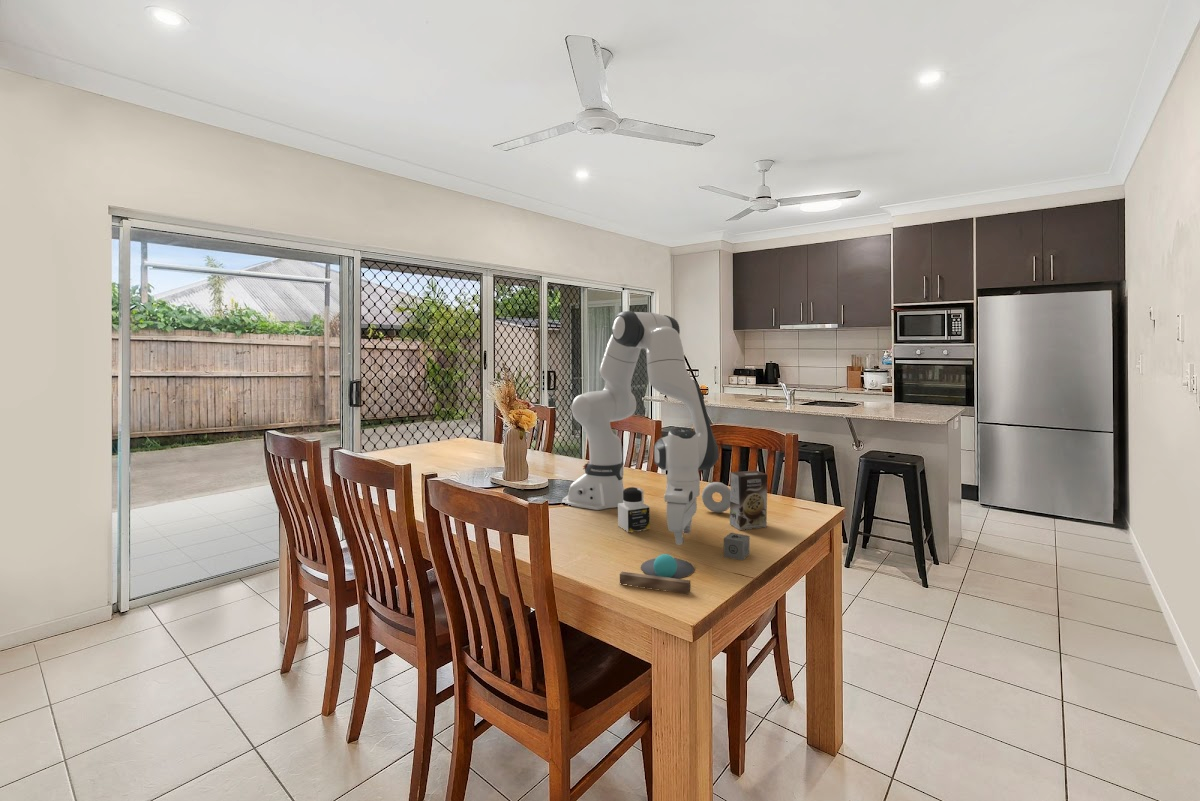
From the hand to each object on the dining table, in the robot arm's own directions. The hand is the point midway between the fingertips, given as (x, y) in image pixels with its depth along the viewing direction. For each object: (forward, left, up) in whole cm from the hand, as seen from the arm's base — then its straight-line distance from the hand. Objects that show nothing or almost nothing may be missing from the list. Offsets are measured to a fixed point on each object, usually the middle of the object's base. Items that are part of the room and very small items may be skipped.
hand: (683, 538), depth 159 cm
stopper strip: (0, -30, -2) cm, 30 cm away
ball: (+1, -24, +1) cm, 24 cm away
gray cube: (+15, -4, -2) cm, 15 cm away
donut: (+4, +32, -2) cm, 32 cm away
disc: (0, -18, -2) cm, 18 cm away
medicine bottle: (-17, +9, -2) cm, 19 cm away
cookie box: (+15, +21, -2) cm, 26 cm away
